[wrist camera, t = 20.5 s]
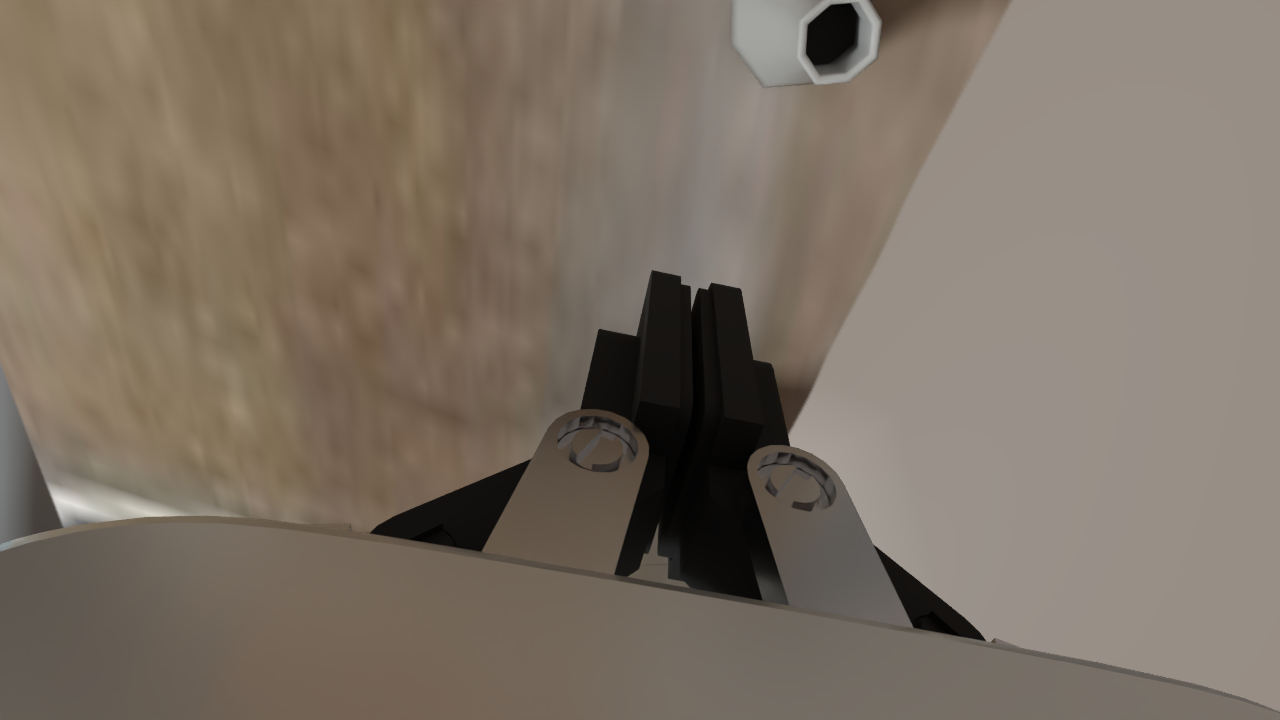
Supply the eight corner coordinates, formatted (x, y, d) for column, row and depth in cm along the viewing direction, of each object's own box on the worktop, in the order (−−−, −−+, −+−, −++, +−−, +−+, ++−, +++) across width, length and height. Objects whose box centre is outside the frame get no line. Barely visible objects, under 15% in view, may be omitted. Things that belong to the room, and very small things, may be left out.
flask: (751, 109, 34) (773, 165, 26) (707, -33, 30) (716, -20, 22) (884, 53, 32) (953, 95, 24) (854, -105, 28) (924, -120, 20)
